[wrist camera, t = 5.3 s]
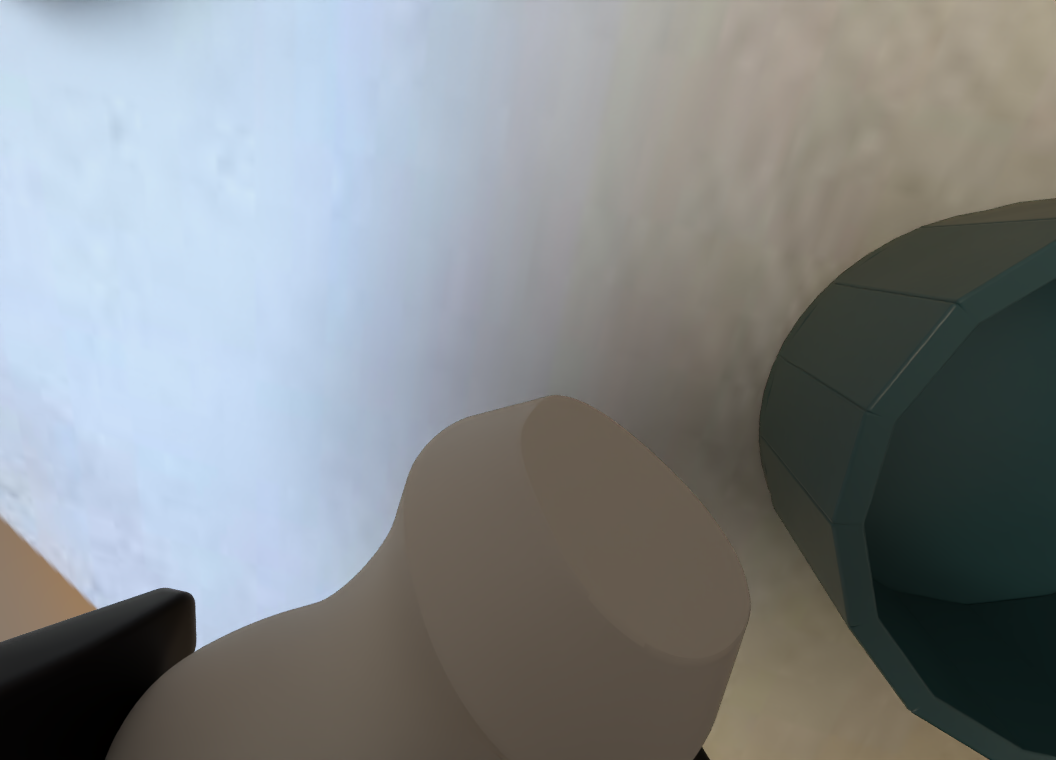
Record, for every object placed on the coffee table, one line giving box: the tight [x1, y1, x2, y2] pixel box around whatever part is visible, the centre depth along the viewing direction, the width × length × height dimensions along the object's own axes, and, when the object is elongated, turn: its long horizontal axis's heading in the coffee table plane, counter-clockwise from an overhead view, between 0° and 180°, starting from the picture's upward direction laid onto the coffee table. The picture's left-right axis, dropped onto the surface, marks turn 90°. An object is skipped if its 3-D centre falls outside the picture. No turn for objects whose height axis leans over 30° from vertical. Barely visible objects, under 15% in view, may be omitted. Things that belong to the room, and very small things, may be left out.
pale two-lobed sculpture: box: [105, 395, 750, 760], centre depth 6 cm, size 4×8×5 cm
